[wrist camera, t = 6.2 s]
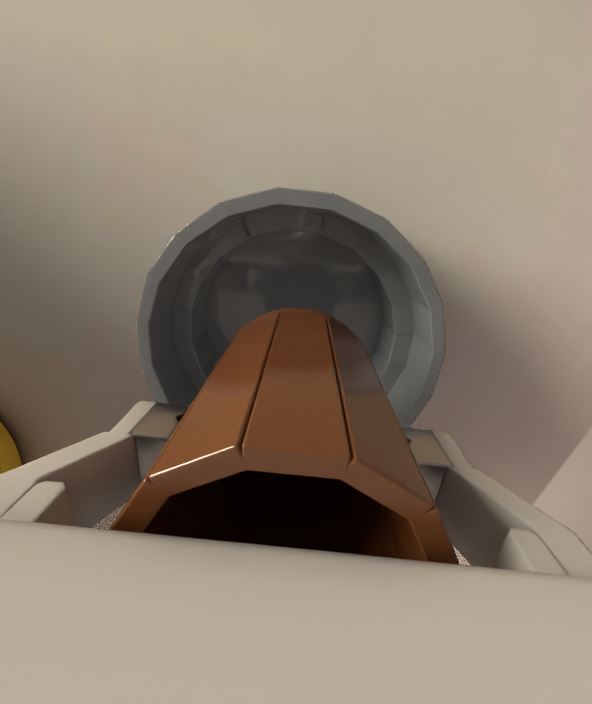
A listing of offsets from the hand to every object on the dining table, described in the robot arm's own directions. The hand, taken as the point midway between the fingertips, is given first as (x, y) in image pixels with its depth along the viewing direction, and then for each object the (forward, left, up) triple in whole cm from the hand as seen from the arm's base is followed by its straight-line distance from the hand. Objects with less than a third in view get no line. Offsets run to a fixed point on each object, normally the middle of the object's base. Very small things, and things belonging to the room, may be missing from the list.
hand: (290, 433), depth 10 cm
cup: (0, 0, -4) cm, 4 cm away
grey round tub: (0, 0, -11) cm, 11 cm away
